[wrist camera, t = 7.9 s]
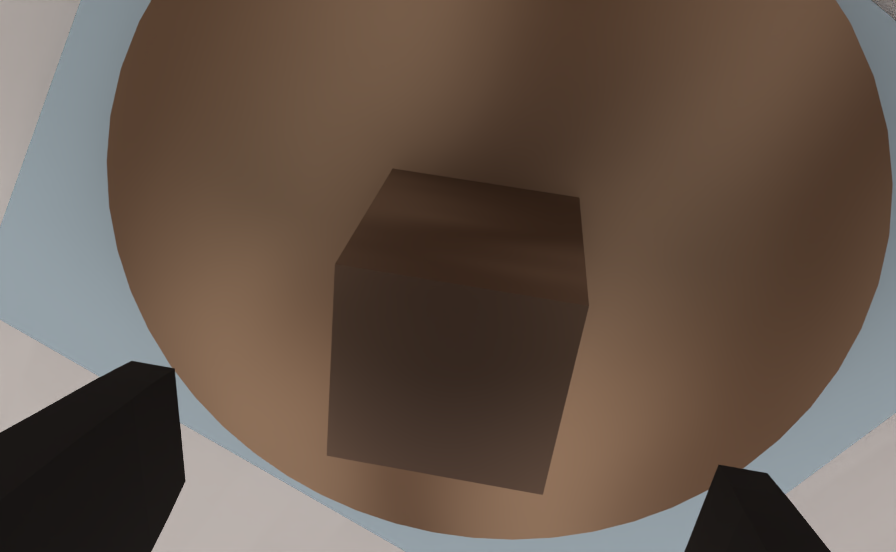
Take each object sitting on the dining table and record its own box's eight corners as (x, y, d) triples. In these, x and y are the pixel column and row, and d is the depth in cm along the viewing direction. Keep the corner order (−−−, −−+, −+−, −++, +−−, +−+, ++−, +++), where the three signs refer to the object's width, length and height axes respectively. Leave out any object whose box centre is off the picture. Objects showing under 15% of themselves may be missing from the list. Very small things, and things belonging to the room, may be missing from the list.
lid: (1044, -118, 10) (1354, -130, 6) (733, 569, 18) (788, 767, 14) (76, -237, 11) (-186, -314, 7) (154, 461, 19) (43, 617, 14)
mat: (1123, 215, 13) (1146, 227, 12) (574, 629, 20) (575, 648, 20) (276, -483, 10) (260, -505, 10) (-10, 291, 17) (-28, 303, 17)
